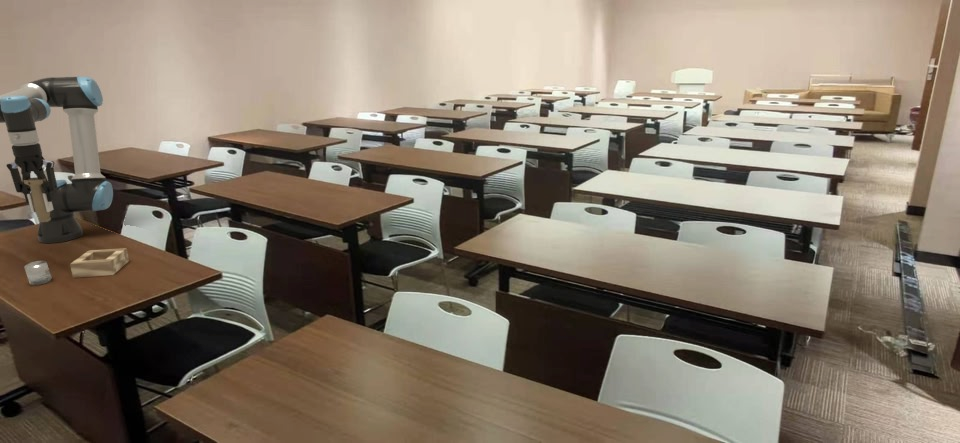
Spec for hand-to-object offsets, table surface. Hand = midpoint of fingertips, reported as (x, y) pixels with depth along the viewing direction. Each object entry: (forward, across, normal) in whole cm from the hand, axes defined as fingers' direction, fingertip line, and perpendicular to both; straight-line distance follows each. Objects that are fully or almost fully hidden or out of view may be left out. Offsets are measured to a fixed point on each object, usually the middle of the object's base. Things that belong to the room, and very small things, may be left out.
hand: (42, 211), depth 195 cm
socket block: (+21, +16, -5) cm, 27 cm away
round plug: (+21, +1, -13) cm, 24 cm away
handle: (+4, 0, 0) cm, 4 cm away
